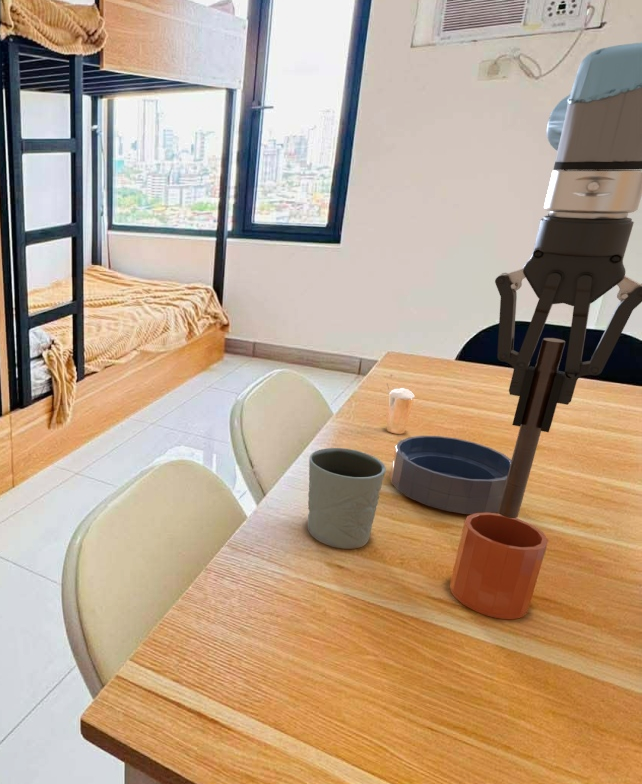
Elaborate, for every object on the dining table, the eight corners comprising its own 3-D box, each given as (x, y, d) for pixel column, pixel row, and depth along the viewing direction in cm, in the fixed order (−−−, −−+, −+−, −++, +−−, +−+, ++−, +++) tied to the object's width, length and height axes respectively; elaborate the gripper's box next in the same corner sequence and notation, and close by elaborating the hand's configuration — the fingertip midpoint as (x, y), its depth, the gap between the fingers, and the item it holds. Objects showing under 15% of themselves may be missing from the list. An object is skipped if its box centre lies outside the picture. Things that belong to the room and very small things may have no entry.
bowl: (514, 487, 107) (523, 453, 105) (498, 529, 95) (508, 492, 93) (404, 459, 118) (410, 428, 116) (377, 494, 106) (383, 459, 104)
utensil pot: (531, 594, 81) (551, 527, 77) (523, 629, 75) (543, 558, 72) (457, 569, 86) (472, 505, 83) (443, 599, 80) (459, 532, 77)
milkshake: (381, 424, 134) (388, 380, 130) (409, 429, 131) (417, 384, 128) (377, 431, 130) (384, 386, 127) (405, 437, 127) (414, 390, 124)
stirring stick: (518, 513, 77) (566, 339, 69) (516, 520, 75) (564, 343, 68) (499, 508, 78) (543, 336, 70) (496, 514, 76) (541, 340, 69)
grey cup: (376, 557, 89) (389, 482, 85) (300, 544, 92) (309, 471, 88) (369, 521, 98) (381, 451, 94) (300, 510, 101) (309, 443, 97)
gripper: (494, 214, 67) (450, 419, 75) (689, 220, 57) (615, 453, 65) (505, 210, 72) (463, 401, 80) (685, 215, 62) (617, 431, 70)
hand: (531, 424), depth 72 cm, fingers closed on stirring stick, 2 cm apart
